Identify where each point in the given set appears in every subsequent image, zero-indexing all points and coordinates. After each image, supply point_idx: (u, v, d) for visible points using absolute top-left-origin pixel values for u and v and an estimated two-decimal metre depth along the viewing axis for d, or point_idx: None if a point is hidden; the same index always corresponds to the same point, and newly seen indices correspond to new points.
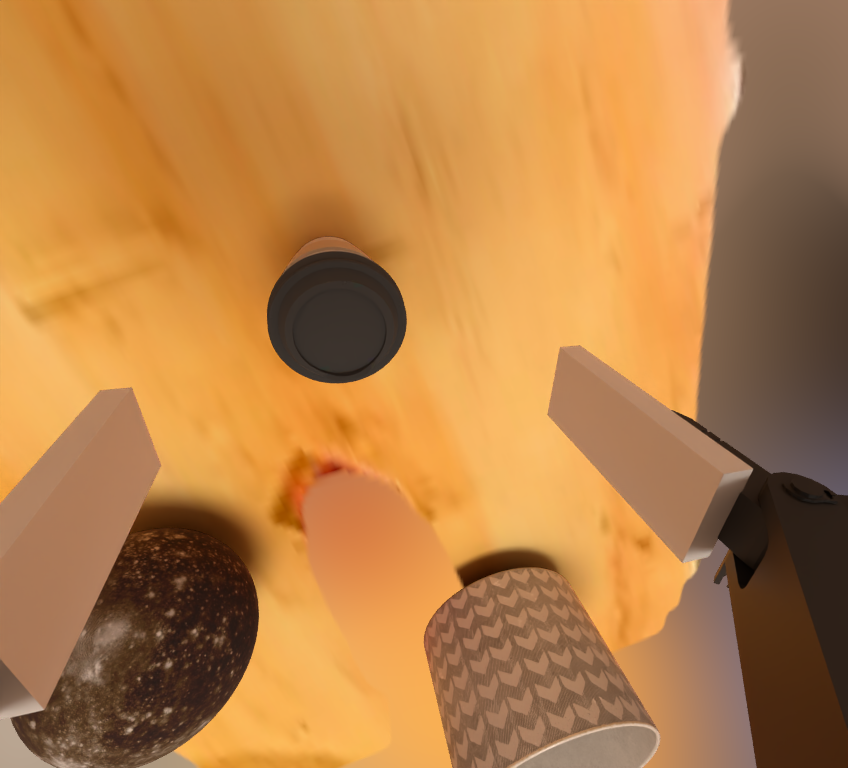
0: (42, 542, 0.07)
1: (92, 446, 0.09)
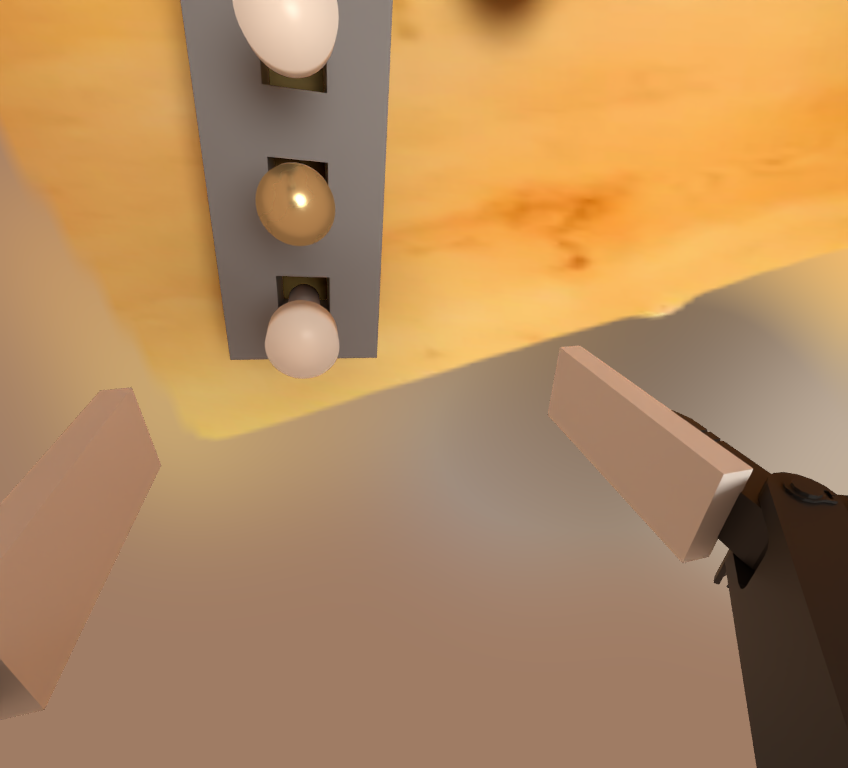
0: (43, 542, 0.07)
1: (92, 447, 0.09)
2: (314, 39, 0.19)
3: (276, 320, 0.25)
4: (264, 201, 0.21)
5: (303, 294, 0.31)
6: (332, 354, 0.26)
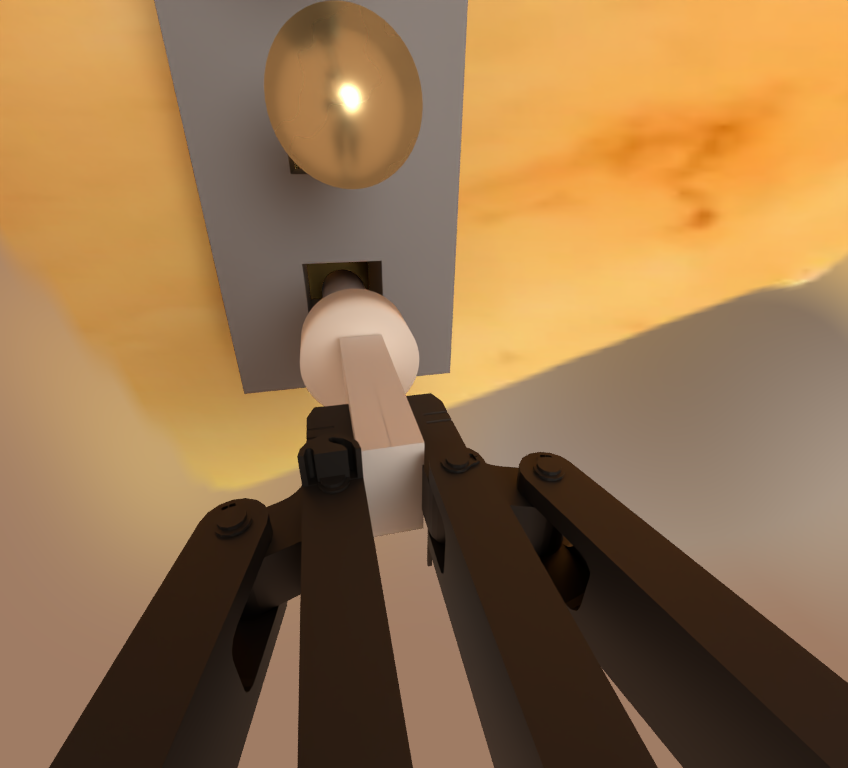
0: None
1: (369, 371, 0.13)
2: None
3: (316, 324, 0.14)
4: (282, 94, 0.10)
5: (345, 282, 0.21)
6: (408, 373, 0.16)
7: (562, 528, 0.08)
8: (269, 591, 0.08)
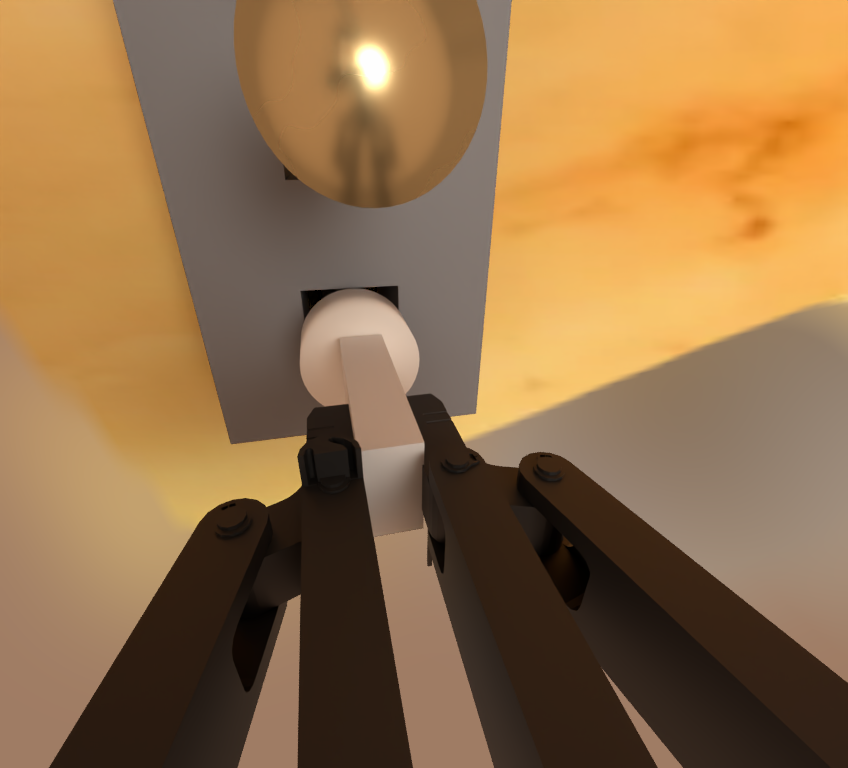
0: None
1: (369, 371, 0.13)
2: None
3: (316, 324, 0.14)
4: (265, 55, 0.06)
5: None
6: (408, 373, 0.16)
7: (562, 528, 0.08)
8: (269, 591, 0.08)
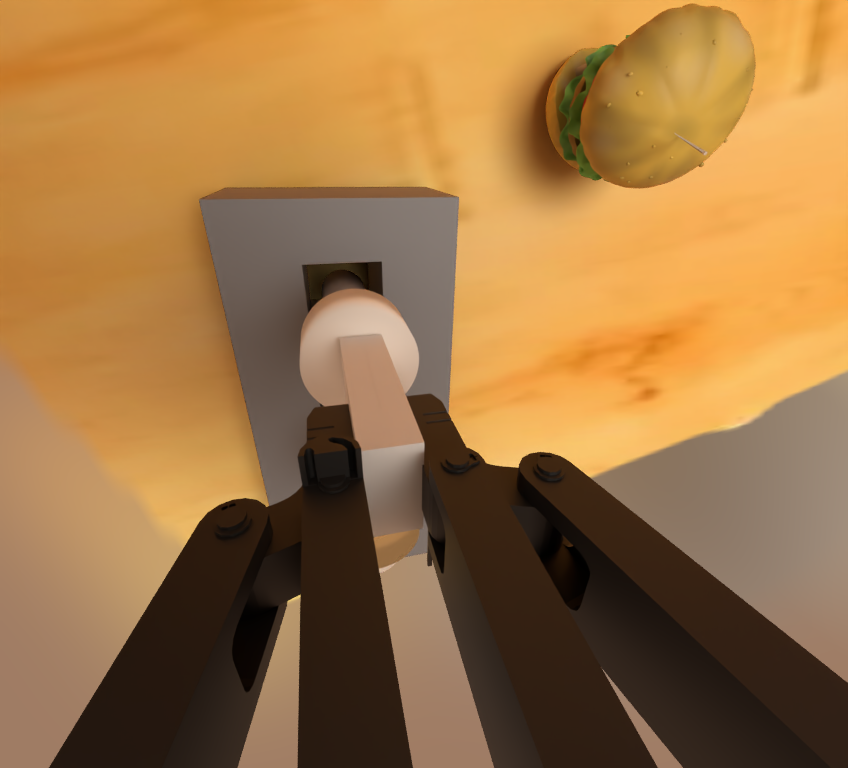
0: None
1: (369, 371, 0.13)
2: None
3: None
4: None
5: None
6: None
7: (562, 528, 0.08)
8: (269, 591, 0.08)
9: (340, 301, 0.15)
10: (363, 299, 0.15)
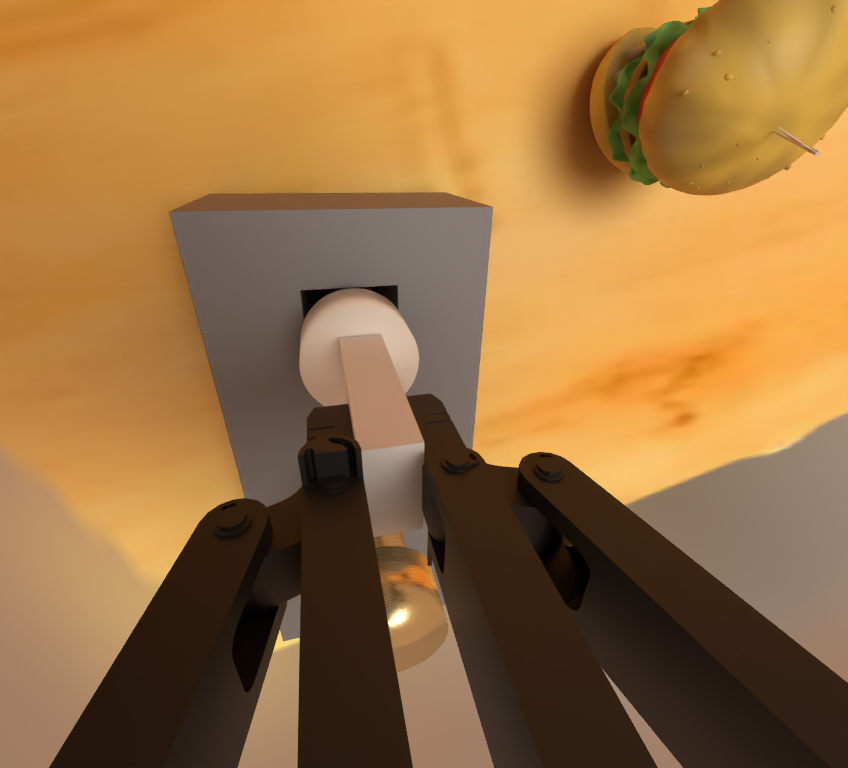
0: None
1: (369, 371, 0.13)
2: None
3: None
4: None
5: None
6: None
7: (562, 528, 0.08)
8: (269, 591, 0.08)
9: (340, 301, 0.15)
10: (363, 299, 0.15)
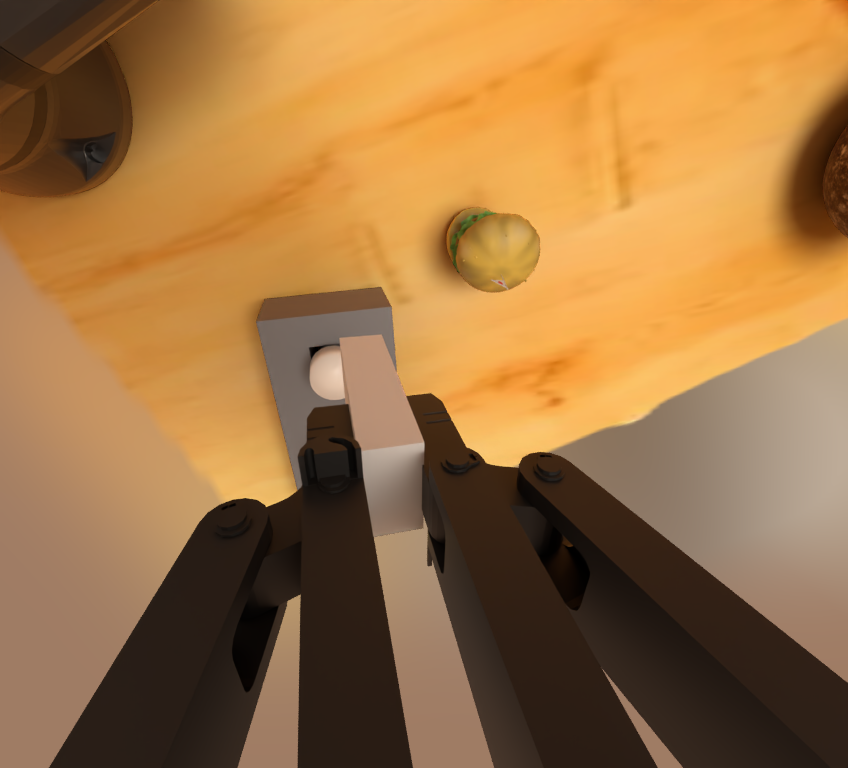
0: None
1: (369, 371, 0.13)
2: None
3: None
4: None
5: None
6: None
7: (562, 528, 0.08)
8: (269, 591, 0.08)
9: (325, 353, 0.37)
10: (334, 351, 0.37)
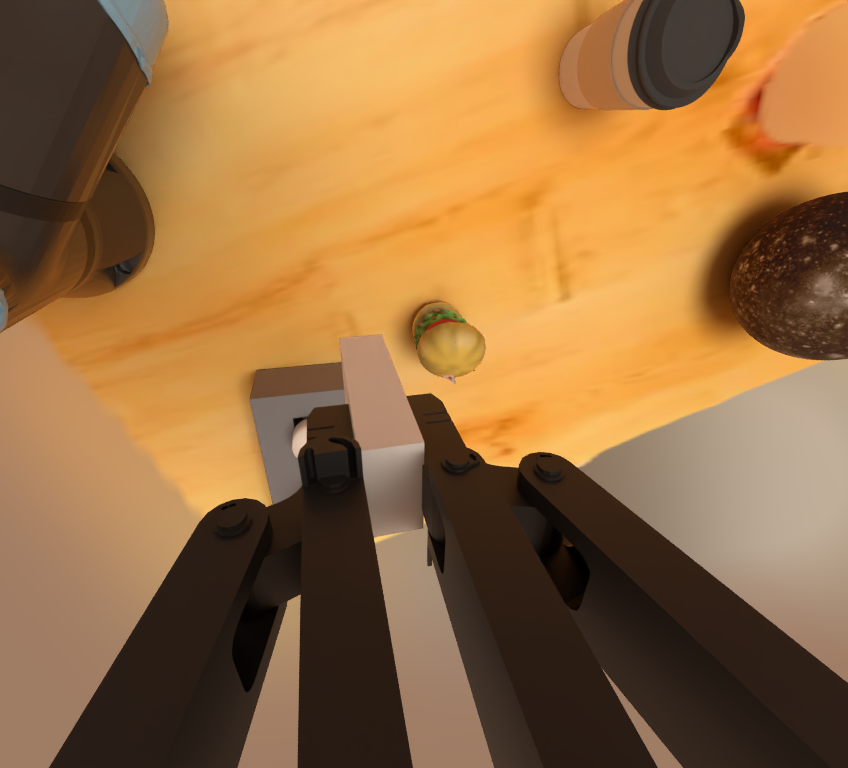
0: None
1: (369, 371, 0.13)
2: None
3: None
4: None
5: None
6: None
7: (562, 528, 0.08)
8: (269, 591, 0.08)
9: (306, 426, 0.45)
10: None
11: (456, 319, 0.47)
